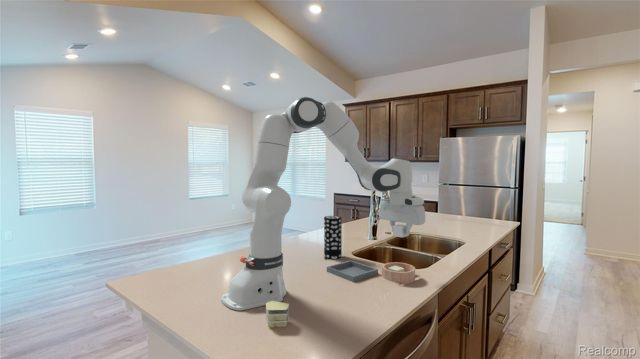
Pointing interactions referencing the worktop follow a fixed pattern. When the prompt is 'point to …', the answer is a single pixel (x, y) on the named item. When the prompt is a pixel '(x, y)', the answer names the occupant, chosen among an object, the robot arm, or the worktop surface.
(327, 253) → the spotted tube
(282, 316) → the pale green layered block
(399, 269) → the cream small cube
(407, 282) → the terracotta bowl
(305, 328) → the worktop surface
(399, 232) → the pale blue cube
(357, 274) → the parts tray
